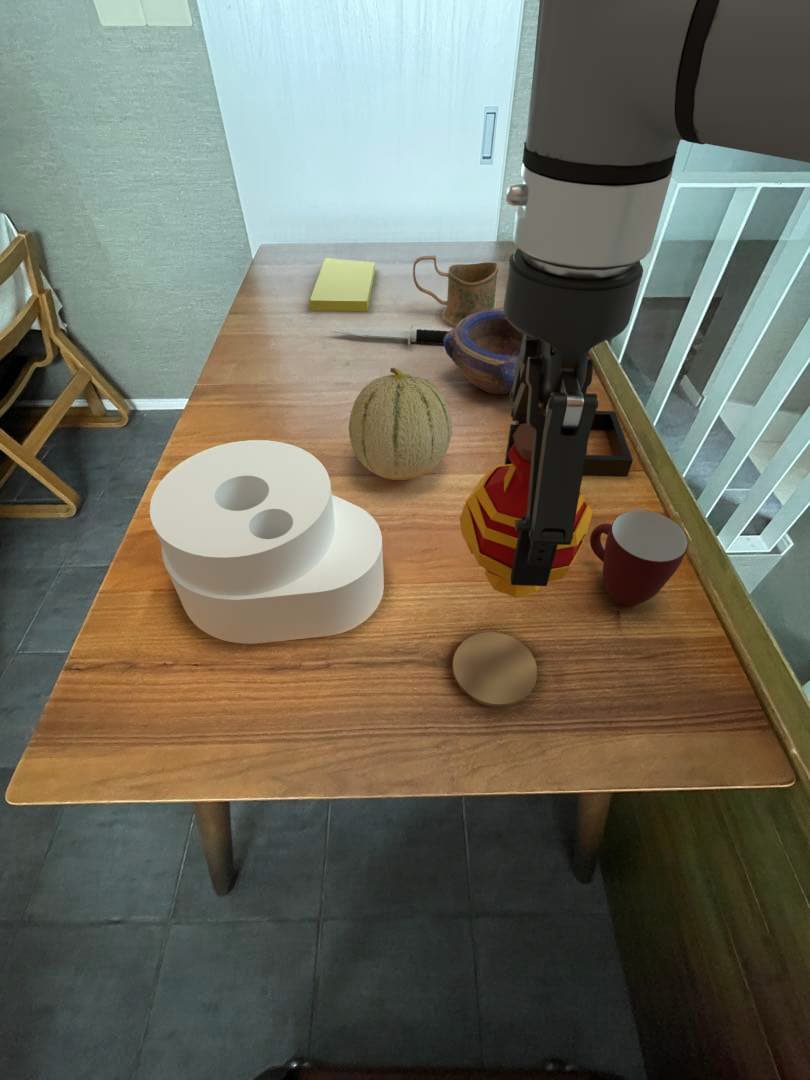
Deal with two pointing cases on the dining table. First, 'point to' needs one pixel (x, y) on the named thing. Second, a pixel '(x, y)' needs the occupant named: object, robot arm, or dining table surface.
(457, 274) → the mug
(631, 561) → the mug
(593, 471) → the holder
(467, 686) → the coaster
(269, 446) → the white stepped block
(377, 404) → the cantaloupe
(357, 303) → the yellow flat block
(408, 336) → the knife
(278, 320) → the dining table surface
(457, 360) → the bowl
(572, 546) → the potion bottle
